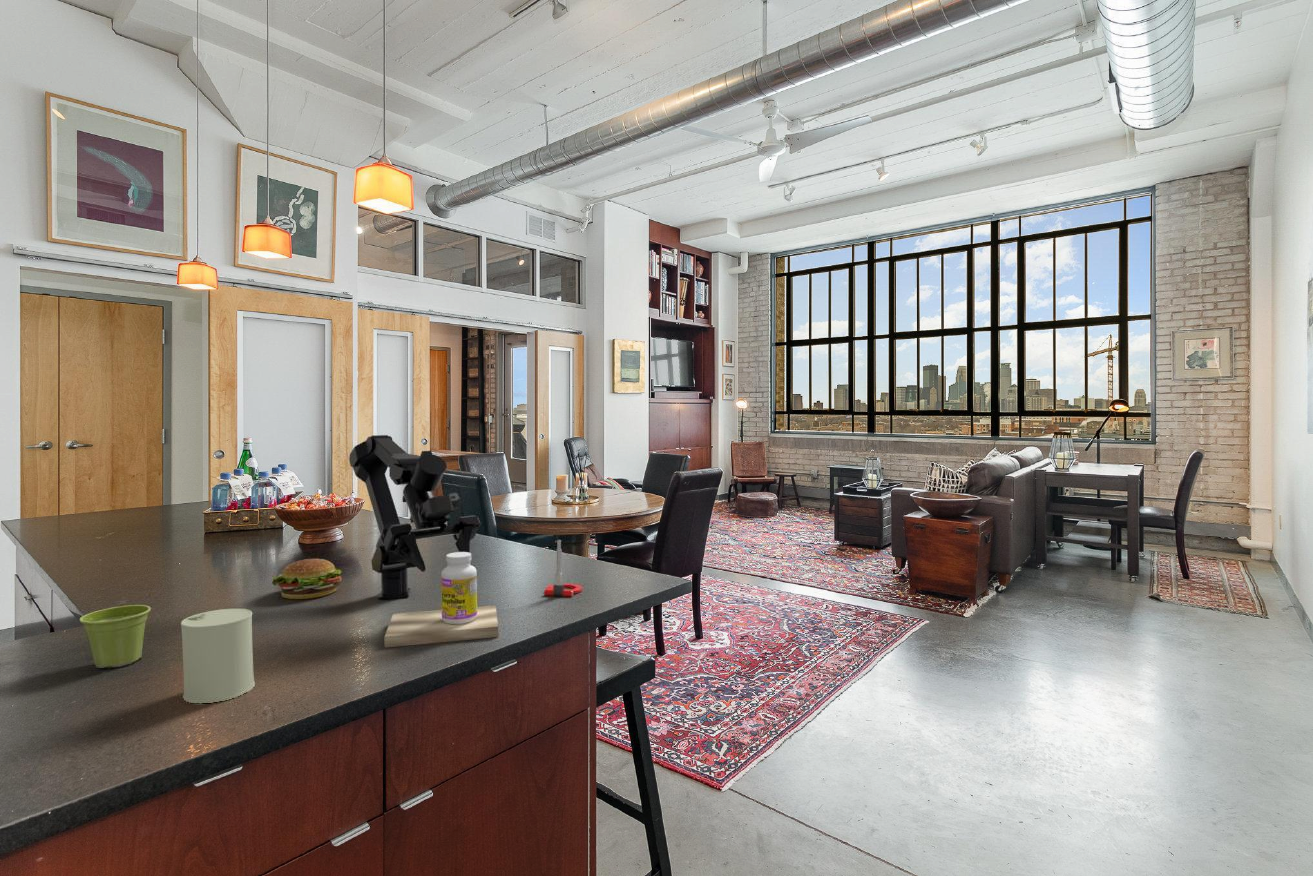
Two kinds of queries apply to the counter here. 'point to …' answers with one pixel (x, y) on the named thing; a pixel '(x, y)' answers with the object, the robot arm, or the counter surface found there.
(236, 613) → the can
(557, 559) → the tow hook
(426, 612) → the birch board
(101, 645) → the plant pot
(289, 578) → the food
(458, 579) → the supplement bottle
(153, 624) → the counter surface
